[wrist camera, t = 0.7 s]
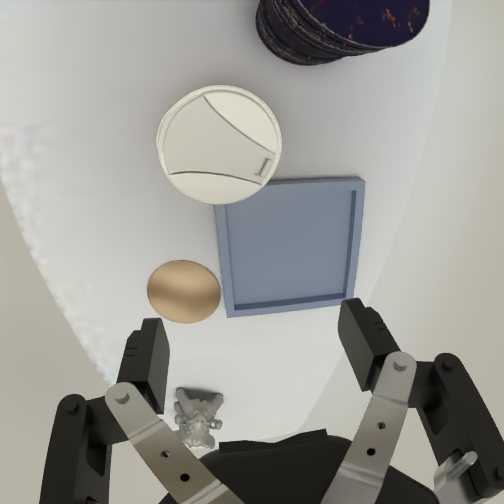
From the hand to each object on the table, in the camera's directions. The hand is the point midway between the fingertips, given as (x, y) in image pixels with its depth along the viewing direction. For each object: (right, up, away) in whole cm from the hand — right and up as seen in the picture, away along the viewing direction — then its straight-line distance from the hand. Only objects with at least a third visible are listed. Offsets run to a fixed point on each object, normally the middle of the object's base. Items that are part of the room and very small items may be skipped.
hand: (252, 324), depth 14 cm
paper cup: (-3, +16, +16) cm, 23 cm away
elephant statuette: (-9, -23, +36) cm, 44 cm away
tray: (+4, +4, +23) cm, 24 cm away
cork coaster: (-8, -2, +25) cm, 26 cm away
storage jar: (+5, +26, +12) cm, 29 cm away
